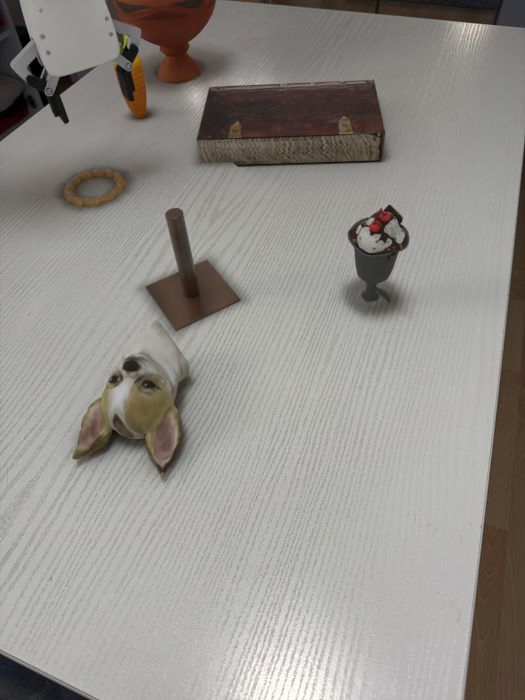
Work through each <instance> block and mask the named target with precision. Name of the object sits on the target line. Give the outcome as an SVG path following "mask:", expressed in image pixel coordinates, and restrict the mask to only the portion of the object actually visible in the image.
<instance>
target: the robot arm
mask: <svg viewBox="0 0 525 700" xmlns="http://www.w3.org/2000/svg"><path fill="white" fill-rule="evenodd" d="M19 5H20V8H21V13H22V16H23V19H24V22H25V26H26V29H27V32H28V35H29V39H30V40H29V42H28V43H27V44H26V45H25V46H24V47H23V49H21V51H20V52H18V54H16V56H15V57H14V58H13V59H12V60H11V61H10V64H9V66H10V67H11V69H12V70H13V71H14V73H16V74H17V75H18V76H19V77H20V78H21V79H22V80H23V81H24V82H25V83H26V84H27V85H28V86H30V87H31V88H33V89H36V90H37V91H39V92H41V93H43V94H45V97H46V99H47V102H48V105H49V107H50V110H51V112H52V115H53V117H54V118H58V117H59V119H60V120H61V122H62V123H63V124H64V125H68V124H69V122H70V119H69V116H68V113H67V111H66V107H65V105H64V102H63V99H62V97H61V94H60V92H58V91H57V90H56V88H57V86H58V83H59V81H60V78H61V77H65V76H68V75H73V74H76V73H78V72H79V73H80V72H83V71H86V70H89V69H92V68H95V67H98V66H101V65H104V64H107V63H108V64H109V63H110V62H112V61H113V63H114V62H116V63H117V65H116V68H115V69H116V72H115V74H116V73H117V76H118V79H117V81H118V80H119V83H118V85H119V84H120V86H119V88H120V87H121V89H120V92H121V91H122V92H121V94H122V96H123V95H124V96H125V97H126V98H127V99H128V100H129V101H131V102H133V101H135V99H134V95H133V92H134V91H135V86H134V82H133V78H132V74H131V70H132V68H133V65H132V64H133V62H134V60H135V58H136V56H137V55H139V51H140V50H139V46H140V43H141V39H142V38H141V29H140V28H138V27H137V26H136V25H132V24H129V23H125V22H123V21H122V20H117V19H114V18H112V16H111V13H110V10H109V7H108V5H107V2H106V0H19ZM117 33H118V34H121V35H123V34H124V35H128V42H127V44H126V46H125V48H124V50H123V52H122V54H120V46H119V43H120V42H119V38H118V34H117ZM36 58H37V61H38V63H39V64H40V65H41V67H43V69H42V71H41V74H40V77H39V76H38V75H36V74H34V73H33V72H31V71H30V70H28V66H29V65H30V64H31V63H32V62H33V61H34V60H35V59H36ZM115 69H114V70H115ZM117 76H116V77H117ZM124 96H123V97H124Z"/></svg>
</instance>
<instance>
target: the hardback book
mask: <svg viewBox="0 0 525 700" xmlns="http://www.w3.org/2000/svg"><path fill="white" fill-rule="evenodd" d="M385 137H386V130H385V125H384V120H383V115H382V111H381V106H380V101H379V97H378V92H377V87H376V82H375V79H361V80H360V79H359V80H338V81H337V80H335V81H313V82H289V83H268V84H266V83H265V84H244V85H220V86H219V85H217V86H209V88H208V91H207V95H206V99H205V102H204V107H203V111H202V115H201V119H200V124H199V128H198V132H197V136H196V143H197V150H198V156H199V162H200V164H213V163H233V164H234V165H238V166H239V165H241V166H242V165H267V164H268V165H271V164H272V165H273V164H299V163H300V164H301V163H304V164H305V163H332V162H361V161H362V162H363V161H364V162H365V161H382V160H383V152H384V145H385Z"/></svg>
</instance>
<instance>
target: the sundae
mask: <svg viewBox="0 0 525 700" xmlns="http://www.w3.org/2000/svg"><path fill="white" fill-rule="evenodd" d="M403 221H404V217H403V215H402V214H401V213H400V212H399V211H398V210H397V209H395V207H394V206H393V205H391V204H388V205H386V207H385V208H384V209H383V208H382V207H380V208H379V210H377V211H375V212H374V213H372V214H370V216H368V217H364V218H361V219H360V220H357V221H356V222H355V223H354V224H353V225H352V226H351V227H350V228H349V229H348V231H347V240H348V241H349V243H350V245H351V246H352V247H353V251H354V264H355V269H356V274H357V276H358V277H359V279H360V280H361V281H363V282H364V283H366V288H365V290H364V291H362V292H361V294H360V295H361V298H362V300H364V301H365V302H367V303H373V302H376V301H378V300H379V299H380V296H381V297H382V298H383V299H384V300H385V301H386V302H388V303H389V304H391V298H390V296H389V294H388V293H387V292H386V291H385V290H383V289H382V288H380V287H378V284H381V283H383V282H385V281H388V279H389V278H390V277H391V274H392V272H393V270H394V268H395V265H396V261H397V259H398V256H399V253H400V252H403V251H405V250H406V249H407V248H408V246H409V244H410V233H409V231H408V229H407V227H405V225H404V224H402V223H403Z"/></svg>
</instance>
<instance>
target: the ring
mask: <svg viewBox="0 0 525 700" xmlns="http://www.w3.org/2000/svg"><path fill="white" fill-rule="evenodd" d="M103 177H104V178H108V179H111V180H112V182H114V184H115V185H114V188H112V190H110V191H109V192H108V193H107V194H104V195H101V196H98V197H95V198H82V197H79V196H77V195H76V194H75V190H76V188H77V187H78V186H79V185H81V183H83V182H84V181H87V180H90V179H92V178H103ZM126 187H127V180H126V179H125V177H123V175H122V174H121V173H120V172H119V171H117V170H116V171H115V170H112V169H109V168H98V169H89V170H87V171H84V172H81V173H78V174H76V175H75V176H74V177H73V178H71V179H70V180H69V181H68V182H66V185H65V188H64V190H63V193H62V195H63V198H64V199H65V200H66V202H67V203H68V204H69V205H72V206H76V207H79V208H94V207H100V206H102V205H106V204H109V203H110V202H113V201H115V200H116V199H118V197H120V196H121V195H122V194H123V193H125V191H126Z"/></svg>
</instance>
